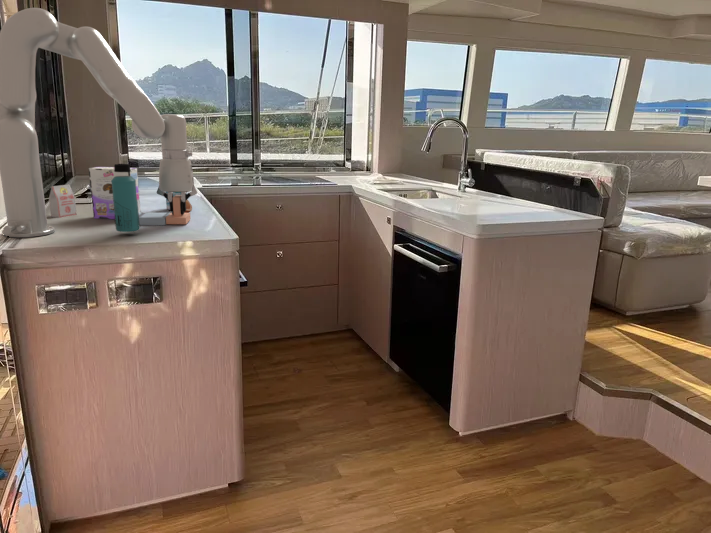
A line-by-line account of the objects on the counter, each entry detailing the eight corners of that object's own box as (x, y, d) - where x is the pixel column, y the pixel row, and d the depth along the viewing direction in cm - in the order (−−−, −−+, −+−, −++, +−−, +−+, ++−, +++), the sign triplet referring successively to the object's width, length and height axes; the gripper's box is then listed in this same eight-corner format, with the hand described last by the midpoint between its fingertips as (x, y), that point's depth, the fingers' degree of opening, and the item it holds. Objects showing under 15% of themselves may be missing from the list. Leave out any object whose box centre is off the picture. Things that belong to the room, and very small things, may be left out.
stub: (186, 224, 168) (184, 198, 166) (166, 224, 168) (164, 198, 165) (190, 219, 177) (189, 194, 175) (171, 219, 176) (170, 194, 174)
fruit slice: (184, 216, 183) (183, 202, 182) (166, 215, 184) (165, 201, 183) (195, 212, 191) (195, 198, 189) (178, 211, 192) (177, 197, 191)
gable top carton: (51, 216, 176) (47, 186, 173) (68, 213, 182) (65, 184, 179) (59, 217, 174) (55, 186, 172) (76, 214, 180) (73, 184, 178)
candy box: (142, 217, 179) (138, 167, 175) (133, 220, 173) (129, 169, 169) (102, 215, 180) (97, 166, 176) (92, 218, 175) (87, 167, 170)
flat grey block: (165, 225, 168) (164, 217, 167) (128, 225, 166) (127, 217, 165) (170, 219, 176) (170, 212, 175) (135, 219, 175) (135, 212, 174)
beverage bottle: (145, 233, 155) (140, 163, 150) (131, 238, 149) (125, 165, 144) (125, 231, 156) (119, 162, 151) (110, 236, 150) (103, 164, 145)
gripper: (202, 155, 171) (205, 212, 176) (150, 154, 169) (154, 211, 174) (199, 156, 164) (202, 216, 169) (145, 155, 162) (149, 215, 167)
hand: (178, 213), depth 172 cm, fingers closed on stub, 2 cm apart
